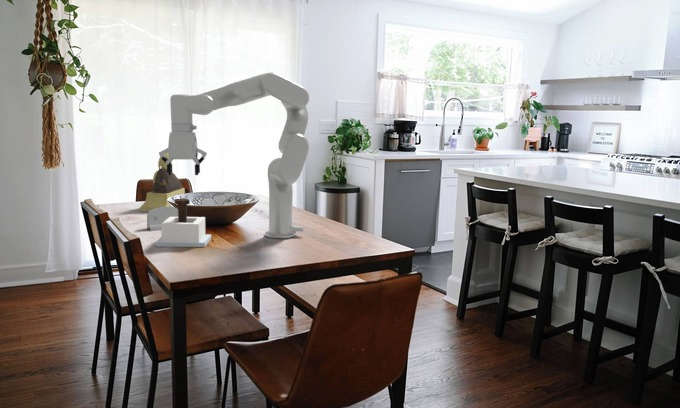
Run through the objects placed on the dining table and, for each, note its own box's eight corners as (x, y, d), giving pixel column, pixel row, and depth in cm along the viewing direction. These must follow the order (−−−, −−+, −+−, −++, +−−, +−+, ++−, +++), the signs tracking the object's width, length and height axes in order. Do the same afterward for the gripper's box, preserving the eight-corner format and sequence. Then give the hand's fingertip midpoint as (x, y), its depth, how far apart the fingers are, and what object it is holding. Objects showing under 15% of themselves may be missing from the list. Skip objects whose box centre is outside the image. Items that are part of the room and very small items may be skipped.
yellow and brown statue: (164, 202, 292) (162, 146, 287) (187, 203, 291) (186, 147, 286) (139, 211, 265) (137, 150, 260) (165, 212, 263) (163, 151, 258)
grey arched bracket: (149, 230, 224) (146, 207, 225) (146, 232, 227) (144, 209, 229) (189, 227, 233) (186, 204, 234) (186, 228, 237) (183, 206, 238)
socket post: (211, 238, 214) (211, 217, 213) (205, 246, 200) (204, 224, 199) (164, 237, 213) (164, 216, 211) (155, 246, 199) (154, 223, 198)
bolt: (181, 240, 202) (180, 201, 200) (172, 238, 205) (171, 199, 203) (193, 237, 207) (192, 199, 205) (184, 235, 210) (183, 197, 207)
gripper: (207, 128, 204) (208, 173, 207) (160, 128, 202) (162, 173, 205) (204, 129, 196) (205, 176, 199) (155, 128, 195) (157, 175, 198)
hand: (183, 174), depth 202 cm, fingers open, 9 cm apart
